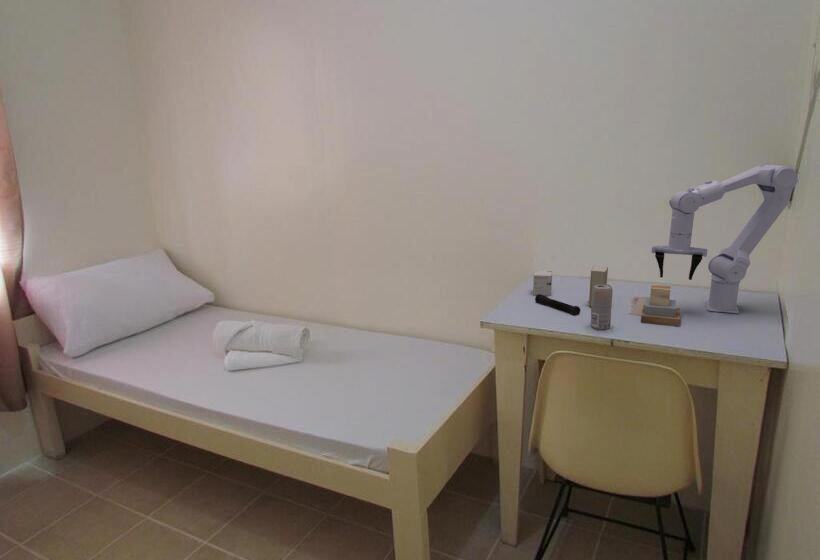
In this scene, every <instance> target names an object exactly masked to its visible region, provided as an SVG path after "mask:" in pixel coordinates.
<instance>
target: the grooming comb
mask: <svg viewBox="0 0 820 560" xmlns="http://www.w3.org/2000/svg"><path fill="white" fill-rule="evenodd" d="M646 298H649V297H647V296H633V297H632V298H631V301H632V303H633V304H630V305H629V306H630V312H629V313H628V315H632V316H640V317H641V315H642V309H643V305H645V303H646Z"/></svg>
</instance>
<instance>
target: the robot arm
mask: <svg viewBox="0 0 820 560" xmlns="http://www.w3.org/2000/svg"><path fill="white" fill-rule="evenodd" d="M798 183H799V178H798V173H797V171H796V169H795V168H794V167H793V166H790V165H778V164H777V165H776V164H771V163H763V164H761V165H757V166H752V168H749V169H748V170H745V171H744V172H741V173H739V174H736V175H734V176H731V177H728V178H726V179H725V180H723V181H722V180H721V181H720V182H719V181H718V180H714V179H713V180H711V179H708V180H705V181H704V183H703V184H700V185H697V186H695V187H692V186H689V187H688V188H687V189H688V190H687V191H685V190H680V191H679V190H678V191H677V192H675V193H674V195H672V196H671V199H669V202H668V204H669V207H670V208H671V209H672V212H671V222H670V228H669V237H668V245H651V254H654V257H655V259H656V263H657V264H658V268H659V277H660V278H664V260H665V254H668V255H669V254H670V255H684V256H687V255H688V256H691V263H690V269H689V273H688V280H689V281H691V280H693V276H694V273H695V271H696V270H697V268H698V266H699V265H700V263H701V262H702V260H703V258H705V257H707V256H708V248H703V247H702V248H700V247H695V246H694V247H692V246H691V244H692V236H693V230H694V229H693V227H694V220H695V212H697V211H698V210H699V209H700V207H703V206H706V205H708V204H711V203H713V202H716V201H719V200H722V199H723V197H724V195H725V194H726V193H728V192H729V193H730V192H732V191H735V190H738V189H739V190H740V189H742V188H744V187H748V186H750V185H756V186H757V187H758V188H759V190H760V192H761V193H762V197H763V202H762V203H761V204H760V205H759V206H758V208H757V210H755V212H754V214H753V215H752V216H751V218H749V220H748V222H747V223H746V224H745V226H744V227H743V228H742V230H741V231H740V233H739V234H738V235H737V236H736V238H735V239H734V241H732V243H731V245H730V246H728V247H725V248H724V249H723V248H722V249H721V250H720V252H719V253H717V255H715V256H713V257H712V258H711V259H710V260H709V261H708V267H707V268H708V271H709V272H710V273H711V279H710V281H711V282H710V288H709V299H705V303H706V309H707V311H709V312H717V313H730V314H739V313H740V312H739V309H738V305H737V304H738V295H739V288H740V284H741V281H743V280H744V278H746V277H745V276H746V274H747V270H748V268H749V267H750V266H751V260H750V255H751V254H752V253H753V251H754V249H755V248H756V247H757V245H758V244H759V243H760V242H761V240H763V238H764V236H765V235H766V234H767V233H768V231H769V230H770V228H771V227H772V226H773V224H774V223H775V222H776V221H777V219H778V218H779V217H780V215H781V214H782V213H783V212H784V210H785V208H787V206H788V204H789V203H790V201H791V196H792V192H793V189H794V187H796V185H797V184H798Z"/></svg>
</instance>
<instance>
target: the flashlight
mask: <svg viewBox="0 0 820 560" xmlns="http://www.w3.org/2000/svg"><path fill="white" fill-rule="evenodd" d="M534 300H535V302H536V303H538V304H541V305H543V306H544V305H545V306H549V307H553V308H555V309H559V310H561V311H564V312H567V313H569V314H572V315H574V316H578V315H580V314H581V307H580V306H578V305H572V304H569V303H565V302H562V301H559V300H557V299H552V298H550V297H549V296H544V295H541V294H537V295H535V299H534Z"/></svg>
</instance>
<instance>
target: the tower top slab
mask: <svg viewBox="0 0 820 560" xmlns="http://www.w3.org/2000/svg"><path fill="white" fill-rule="evenodd" d="M676 308H677V302H676V299H669V307H667V306H658V305H650V297H648V298H646V303H645V314H646V315H657V316H668V317H676Z"/></svg>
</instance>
